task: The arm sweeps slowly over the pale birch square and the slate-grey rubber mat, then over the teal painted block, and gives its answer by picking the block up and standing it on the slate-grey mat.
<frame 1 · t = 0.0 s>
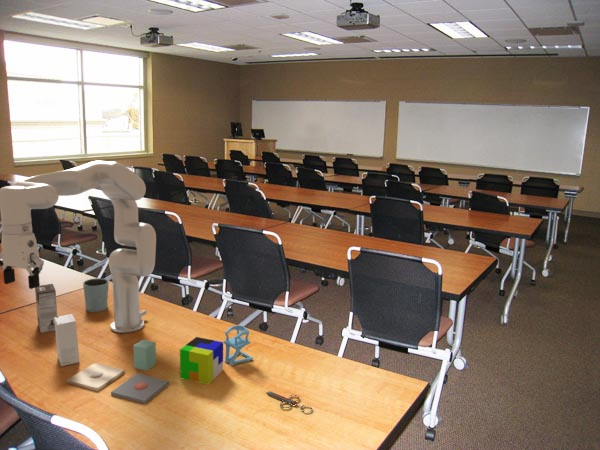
hand: (22, 285, 144), 31 cm above the table, tool pointing down, fingers open, 9 cm apart
slate mat: (140, 389, 148), on the table
coffee box: (48, 327, 188), on the table
teal block: (145, 365, 162), on the table
birch pad: (96, 377, 153), on the table
syringe: (285, 403, 144), on the table
drinking glass: (97, 308, 209), on the table
skincare box: (68, 360, 164), on the table
puzzle toy: (202, 374, 158), on the table
chair: (236, 360, 168), on the table
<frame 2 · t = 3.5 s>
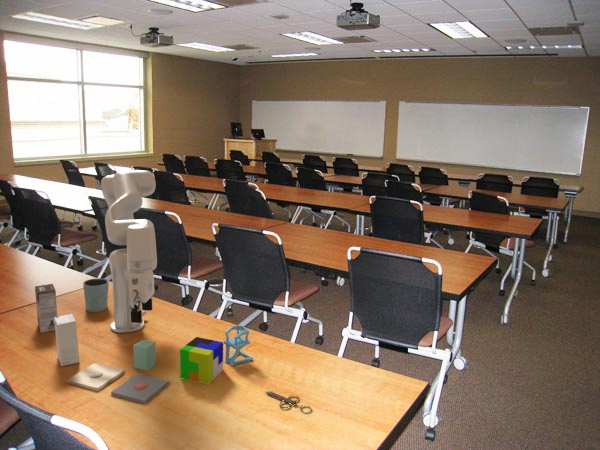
hand: (142, 316, 153), 20 cm above the table, tool pointing down, fingers open, 9 cm apart
nothing on the table moved.
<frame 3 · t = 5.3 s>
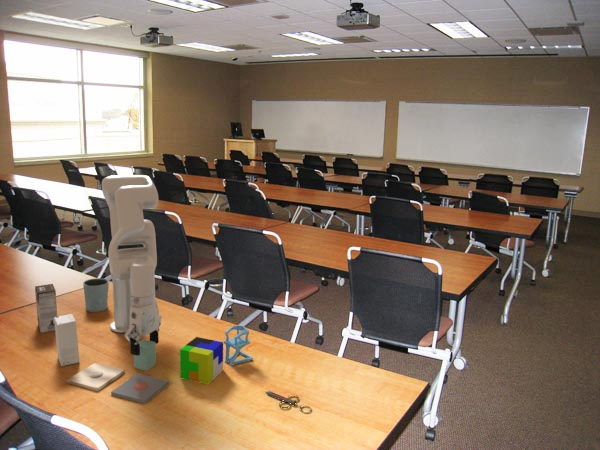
hand: (145, 348, 160), 6 cm above the table, tool pointing down, fingers open, 9 cm apart
nothing on the table moved.
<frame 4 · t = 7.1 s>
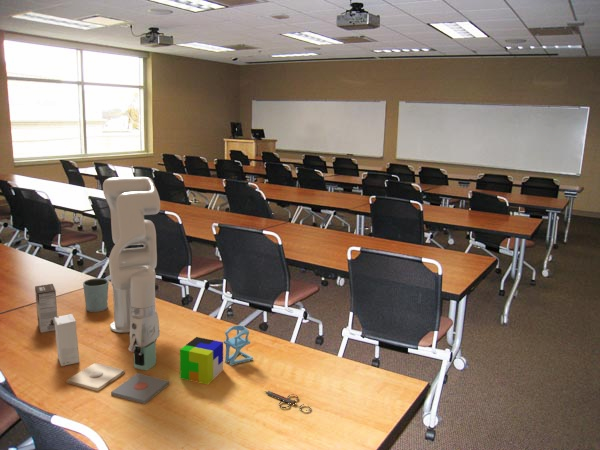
hand: (145, 360, 161), 2 cm above the table, tool pointing down, fingers closed on teal block, 5 cm apart
teal block: (145, 365, 162), on the table, touching gripper
everything else where it was.
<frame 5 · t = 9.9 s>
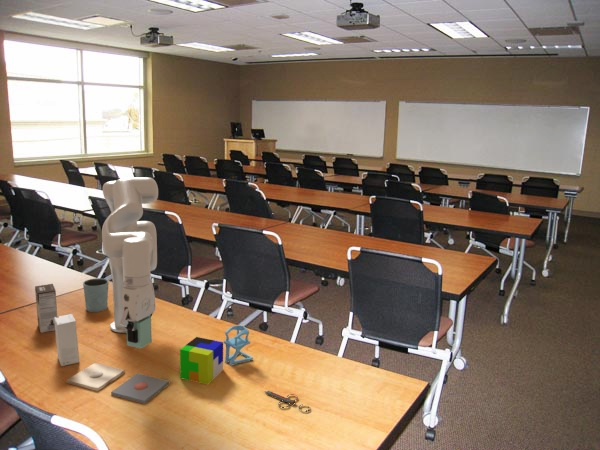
hand: (139, 337, 144), 17 cm above the table, tool pointing down, fingers closed on teal block, 5 cm apart
teal block: (139, 343, 145), point 15 cm above the table, touching gripper
everything else where it was.
when the fingers open (4 cm above the table, at t = 13.0 s): teal block stays where it is, resting on slate mat.
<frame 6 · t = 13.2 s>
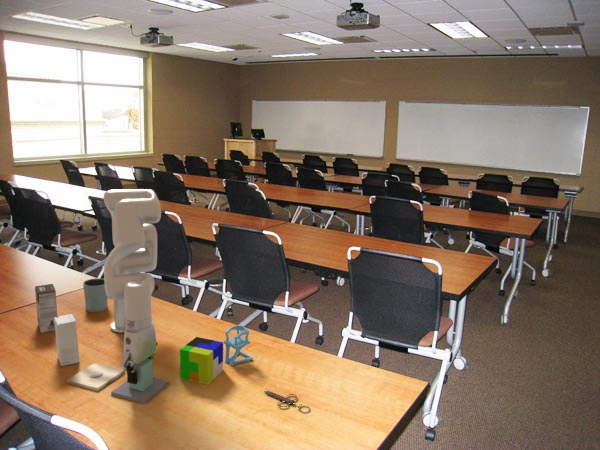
hand: (140, 376, 147), 4 cm above the table, tool pointing down, fingers open, 6 cm apart
teal block: (141, 385, 148), point 1 cm above the table, touching slate mat
everything else where it was.
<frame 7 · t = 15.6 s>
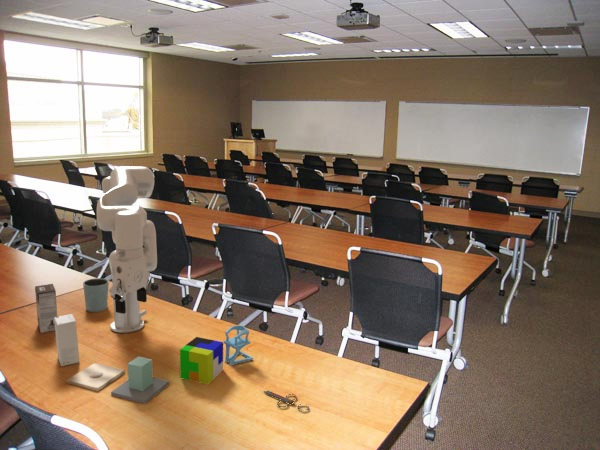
hand: (131, 306, 147), 25 cm above the table, tool pointing down, fingers open, 9 cm apart
nothing on the table moved.
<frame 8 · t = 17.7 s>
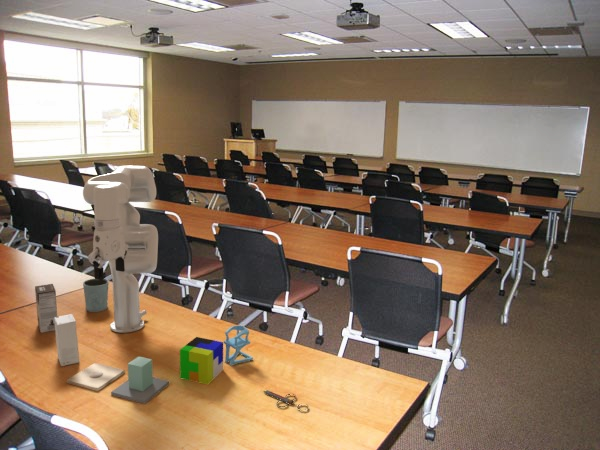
hand: (110, 274, 159), 30 cm above the table, tool pointing down, fingers open, 9 cm apart
at the end: teal block inside the target area on the slate mat (0.1 cm from its centre), point 1.1 cm above the slate mat's base; teal block tilted 0°; the gripper is holding nothing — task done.
